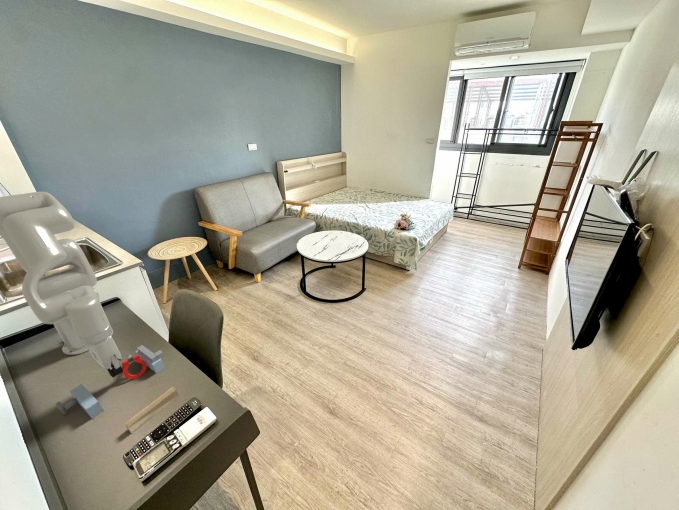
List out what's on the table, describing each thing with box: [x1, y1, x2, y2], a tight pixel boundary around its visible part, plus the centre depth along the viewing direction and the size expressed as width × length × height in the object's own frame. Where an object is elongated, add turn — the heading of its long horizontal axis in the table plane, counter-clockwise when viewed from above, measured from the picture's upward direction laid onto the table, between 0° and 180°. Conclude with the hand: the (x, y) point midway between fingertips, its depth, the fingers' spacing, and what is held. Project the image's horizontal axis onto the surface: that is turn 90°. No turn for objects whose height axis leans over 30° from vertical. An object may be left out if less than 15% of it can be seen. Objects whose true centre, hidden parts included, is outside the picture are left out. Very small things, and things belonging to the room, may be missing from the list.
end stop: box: [124, 386, 179, 434], centre depth 84 cm, size 2×14×3 cm, turn 149°
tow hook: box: [121, 354, 148, 380], centre depth 99 cm, size 7×10×7 cm, turn 45°
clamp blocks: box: [55, 344, 166, 419], centre depth 91 cm, size 12×28×6 cm, turn 149°
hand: (117, 373), depth 93 cm, fingers closed
